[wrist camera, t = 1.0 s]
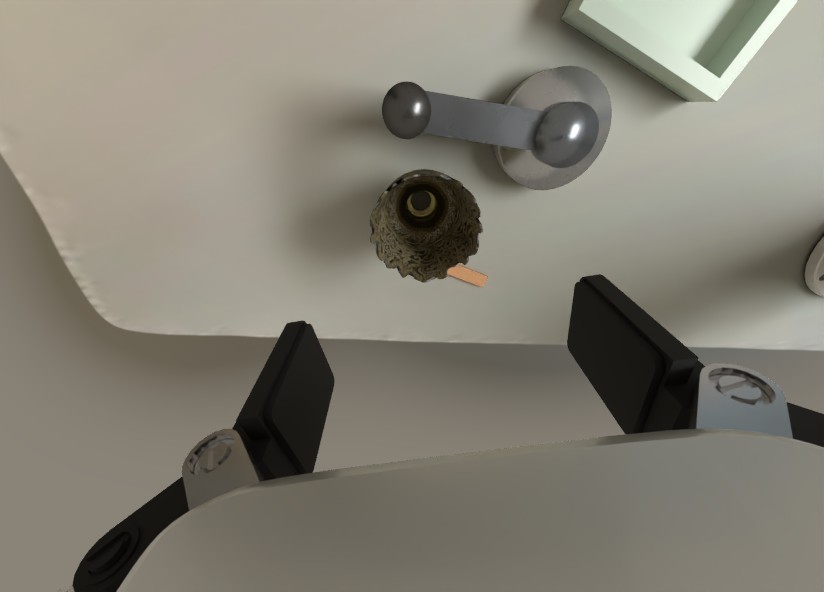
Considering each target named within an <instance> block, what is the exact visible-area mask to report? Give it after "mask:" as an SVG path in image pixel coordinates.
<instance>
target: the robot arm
mask: <svg viewBox="0 0 824 592" xmlns="http://www.w3.org/2000/svg"><path fill="white" fill-rule="evenodd" d="M805 281H806V284H807V286H808V287H809V289H810V290H812V291H813V292H814V293H816V294H818V295H820V296H822V297H824V236H823V238H822V239H821V240H820V241H819V243H818V244H817V245H816V247H815V248H814V250H813V252H812V253H811V255H810V257H809V260H808V262H807V264H806V270H805ZM567 345H568V349H569V351H570V353H571V354H572V356H573V357H574V359H575V360H576V362H577V363H578V365H579V366H580V368H581V369H582V371H583V372H584V374H585V375H586V376H587V378H588V379H589V381H590V382H591V384H592V385H593V387H594V388H595V390H596V391H597V393H598V394H599V396H600V397H601V399H602V400H603V402H604V403H605V405H606V406H607V408H608V409H609V411H610V412H611V414H612V415H613V417H614V418H615V420H616V421H617V423H618V424H619V426H620V427H621V428H622V430H623V431H624V433H625V434H626V435H617V436H607V437H598V438H589V439H581V440H572V441H564V442H555V443H546V444H538V445H530V446H520V447H512V448H504V449H496V450H488V451H479V452H471V453H463V454H454V455H447V456H438V457H430V458H423V459H414V460H406V461H398V462H390V463H382V464H374V465H367V466H359V467H351V468H344V469H336V470H328V471H323V472H315V473H312V472H313V470H314V466H315V462H316V458H317V454H318V450H319V445H320V441H321V437H322V433H323V429H324V425H325V421H326V416H327V412H328V408H329V403H330V400H331V396H332V392H333V387H334V376H333V373H332V371H331V369H330V366H329V364H328V362H327V359H326V357H325V355H324V352H323V350H322V348H321V346H320V343H319V341H318V339H317V336H316V334H315V332H314V329H313V327H312V325H311V324H307V323H306V322H305V321H298V322H291V323H287V324H286V326H285V328H284V330H283V332H282V334H281V335H280V337H279V339H278V341H277V343H276V345H275V347H274V349H273V351H272V353H271V355H270V356H269V359H268V360H267V362H266V364H265V366H264V368H263V370H262V372H261V374H260V376H259V378H258V380H257V381H256V384H255V385H254V387H253V389H252V391H251V393H250V395H249V397H248V399H247V400H246V402H245V404H244V406H243V408H242V410H241V412H240V414H239V416H238V418H237V420H236V423H235V425H234V427H233V429H223V430H220V431H216V432H214V433H212V434H210V435H208V436H207V437H205V438H204V439H203V440H201V441H200V442H199V443H198V444H197V445H196V446H195V447H194V448H193V449H192V450H191V451H190V453H189V454H188V456H187V457H186V459H185V461H184V463H183V466H182V477H181V478H180V479H178V480H177V481H176V482H174V483H173V484H171V485H170V486H169V487H167V488H166V489H165V490H163V491H162V492H161V493H159V494H158V495H157V496H156V497H154V498H153V499H152V500H150V501H149V502H147V503H146V504H145V505H143V506H142V507H141V508H139V509H138V510H137V511H135V512H134V513H133V514H132V515H130V516H128V517H127V518H126V519H124V520H123V521H122V522H120V523H119V524H118V525H116V526H115V527H114V528H112V529H111V530H110V531H109V532H107V533H106V534H105V535H104V536H103V537H102V538H101V539H99V540H98V541H97V542H96V544H95V545H94V546H93V547H92V548H91V549H90V550H89V551H88V553H87V554H86V555H85V557H84V558H83V560H82V561H81V563H80V565H79V567H78V569H77V571H76V573H75V575H74V581H73V585H72V586H71V587H70V588H69V589H68V590H67V591H65V590H62V589H60V590H59V591H58V592H824V414H821V413H818V412H815V411H812V410H809V409H806V408H803V407H800V406H797V405H794V404H791V403H788V402H786V397H785V395H784V393H783V391H782V390H781V389H780V388H779V387H778V386H777V384H776V383H774V382H772V381H771V380H770V379H768V378H767V377H765V376H764V375H762V374H760V373H758V372H756V371H753V370H751V369H748V368H745V367H741V366H738V365H733V364H727V363H725V364H723V363H715V364H711V365H707V366H706V367H705V366H704V365H703V364H702V363H700V362H699V361H698V357H697V356H696V355H695V354H694V353H693V352H691V351H690V350H689V349H688V348H687V347H686V346H684V345H683V344H682V343H681V342H680V341H679V340H677V339H676V338H675V337H674V336H673V335H672V334H670V333H669V332H668V331H667V330H666V329H665V328H664V327H662V326H661V325H660V324H659V323H658V322H657V321H655V320H654V319H653V318H652V317H651V316H650V315H648V314H647V313H646V312H645V311H644V310H643V309H641V308H640V307H639V306H638V305H637V304H636V303H634V302H633V301H632V300H631V299H630V298H629V297H627V296H626V295H625V294H624V293H623V292H622V291H620V290H619V289H618V288H617V287H616V286H615V285H614V284H612V283H611V282H610V281H609V280H608V279H607V278H605V277H604V276H603V275H593V276H586V277H582V278H581V279H580V282H577V283H576V284H575V289H574V296H573V303H572V311H571V318H570V325H569V333H568V340H567Z"/></svg>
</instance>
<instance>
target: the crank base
mask: <svg viewBox="0 0 824 592" xmlns="http://www.w3.org/2000/svg"><path fill="white" fill-rule="evenodd" d="M558 102H583V103H586V104H588V105H589V106H591V107H592V108H593V109H594V111H595V112H596V114H597V116H598V120H599V132H598V136H597V139H596V142H595V144H594V146H593V148H592V149H591V151H590V152H589V153H588V155H587V156H586V157H585V158H584V159H582V160H581V161H580V162H578V163H577V164H575V165H573V166H570V167H567V168H554V167H551V166H549V165H547V164H544V163H542V162H540V161H538V160H537V159H536V158H535V157H534V156H533V154H532V153H531V150H525V149H518V148H512V147H506V146H499V145H493V146H494V152H495V155H496V159H497V161H498V163H499V165H500V167H501V168H502V170H503V171H504V172H505V173H506V174H507V175H508V176H509V177H511V178H512V179H514V180H515V181H516V182H518V183H519V184H521V185H523V186H525V187H528V188H531V189H535V190H549V189H554V188H557V187H560V186H563V185H565V184H567V183H569V182H571V181H573V180H574V179H576V178H577V177H579V176H580V175H581V174H582V173H583V172H585V171H586V170H587V169H588V168H589V166H590V165H591V164H592V163H593V162H594V161H595V159H596V158H597V156H598V155H599V153H600V152H601V150H602V148H603V146H604V144H605V142H606V139H607V136H608V133H609V129H610V124H611V111H612V110H611V102H610V98H609V94H608V92H607V89H606V87H605V86H604V84H603V83H602V81H601V80H600V79H599V78H598V77H597V76H596V75H595V74H593V73H592V72H590V71H588V70H586V69H584V68H580V67H575V66H563V67H558V68H553V69H549V70H545V71H541V72H539V73H536V74H534V75H532V76H530V77H528V78H527V79H526V80H524V81H523V82H521V83H520V84H519V85H518V86H517V87H516V88H515V89H514V90H513V91H512V92H511V93H510V95H509V96H508V98H507V99H506V100H505V102H504V104H505V105H511V106H516V107H522V108H528V109H534V110H540V111H543V110H544V109H545V108H547V107H548V106H550V105H552V104H555V103H558Z"/></svg>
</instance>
